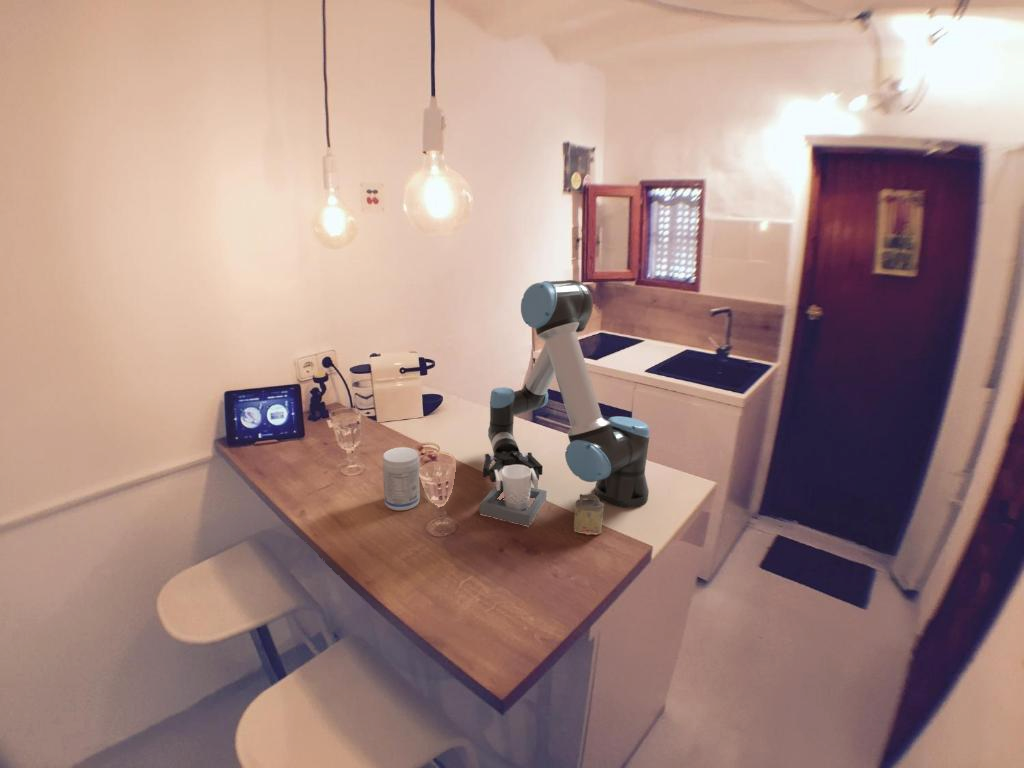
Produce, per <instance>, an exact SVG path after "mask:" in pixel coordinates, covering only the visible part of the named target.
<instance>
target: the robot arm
mask: <svg viewBox="0 0 1024 768" xmlns="http://www.w3.org/2000/svg"><path fill="white" fill-rule="evenodd" d="M522 296H523V297H522V298H521V301H520V314H521V317H522V319H523V322H524V323H525V324H526V325H528V327H529V328H532V329H535V332H536V335H537V338H538V339H540V340H541V341H544V345H543V347H542V349H541V351H540V353H539V355H538V357H537V359H536V361H535V363H534V365H533V367H532V369H531V371H530V372H529V375H528V377H527V379H526V381H525V383H524V385H523V387H522V389H519V390H514V389H513V388H511V387H506V386H505V387H496V388H493V389H492V390H491V393H490V399H489V408H490V409H489V415H490V417H489V427H488V432H487V433H488V434H487V436H488V439H489V441H490V442H489V443H490V445H491V449H492V451H493V455H490V454H489V453H485V454H484V464H483V466H482V477H483V478H488V477H489V481H490V482H491V483H495V486H496V488H497V491H500V481H501V479H500V474H499V472H500V471H501V470H503V469H504V468H505V467H507V466H510V465H524V466H527V467H529V468H530V469H531V484H532V486H533V488H535V489H539V487H538V486H539V485H538V484H539V480H540V476H542V475H543V465H542V464H541V463H540V461H538V460H537V459H536V458H535V457H534V456H533V453H532V452H527V454H523V453H521V451H520V448H519V446H518V443H517V442H516V438H515V436H514V419H515V416H518V415H523V414H524V413H528V412H531V411H534V410H535V411H536V410H540V408H543V407H545V406H546V405H547V404H548V401H549V393H548V390H549V388H550V386H551V384H552V383H553V380H554V378H556V382H557V384H558V388H559V392H560V395H561V398H562V401H563V404H564V407H565V410H566V414H567V416H568V420H569V424H570V429H569V431H568V433H567V437H568V440H569V444H568V445H567V446H566V448H565V453H564V455H565V456H564V458H565V461H566V463H567V464H566V465H567V466H568V468H569V470H570V471H571V472H572V474H573V475H574V476H575V477H578V478H579V479H580V480H582V481H584V482H587V483H594V482H596V483H595V488H594V489H595V491H594V492H595V496H598V498H599V500H600V501H601V502H604V503H606V504H608V505H611V506H615V507H619V508H637V507H642V506H643V505H645V504H646V503H647V502H648V500H649V490H650V489H649V487H648V482H647V478H646V474H645V473H646V465H647V458H648V450H649V441H650V439H651V438H650V426H649V425H648V424H647V423H646V422H645V421H642V420H639V419H637V418H633V417H629V416H620V415H619V416H618V415H617V416H611V417H609V418H608V420H607V419H605V418H604V417H603V415H602V413H601V408H600V405H599V402H598V398H597V396H596V392H595V389H594V386H593V383H592V380H591V376H590V373H589V371H588V367H587V363H586V361H585V357H584V353H583V350H582V346H581V344H580V340H579V339H578V338H579V337H578V334H579V333H583V332H584V331H585V329H586V327H587V325H588V323H589V320H590V319H591V316H592V312H593V308H594V301H593V300H594V299H593V295H592V293H591V291H590V290H589V288H588V286H587V285H585V284H584V283H583V282H581V281H578V280H574V279H569V280H556V281H554V280H553V281H550V280H545V281H542V282H536V283H533V284H531V285H530V286H528V287H527V288H526V290H525V291H524V293H523V295H522ZM493 462H495V463H494V464H493V465H492V463H493Z"/></svg>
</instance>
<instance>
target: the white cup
mask: <svg viewBox="0 0 1024 768" xmlns="http://www.w3.org/2000/svg"><path fill="white" fill-rule="evenodd" d="M501 477H502V478H501V479H502V480H501V481H503V491H504V499H505V505H506V507H509V508H513V509H517V510H523V509H526V508H527V507H528V506H529V503H530V490H531V488H532V487H531V486H532V485H531V484H532V481H531V469H530V468H529V467H527V466H524V465H509V466H504V467H503V468H502V469H501Z"/></svg>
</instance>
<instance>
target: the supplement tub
mask: <svg viewBox="0 0 1024 768" xmlns="http://www.w3.org/2000/svg"><path fill="white" fill-rule="evenodd" d="M419 458H420V457H419V452H418V451H417V450H416V449H414V448H411V447H395V448H391V449H388V450H386V451H385V452H384V453H383V455H382V477H383V478H382V479H383V493H384V494H383V500H384V504H385V506H386V507H387V508H389V509H390V510H392V511H400V512H401V511H407V510H408V511H409V510H411V509H413V508H415V507H416V506H417V505H418V504H419V502H420V499H421V498H420V495H421V494H420V493H421V492H420V459H419Z"/></svg>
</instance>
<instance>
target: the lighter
mask: <svg viewBox="0 0 1024 768" xmlns="http://www.w3.org/2000/svg"><path fill="white" fill-rule="evenodd" d="M603 516H604V503H603V501H601V500H600V499H599V498H598V496H597V495H593V493H587V494H583V493H581V494H579V499H577V500H576V501H575V507H574V518H573V519H574V521H573V528H574V530H576V531H577V532H587V533H589V532H590V533H599V532H600V531H601V532H602V527H603V519H604V517H603ZM574 530H573V531H574Z"/></svg>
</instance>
